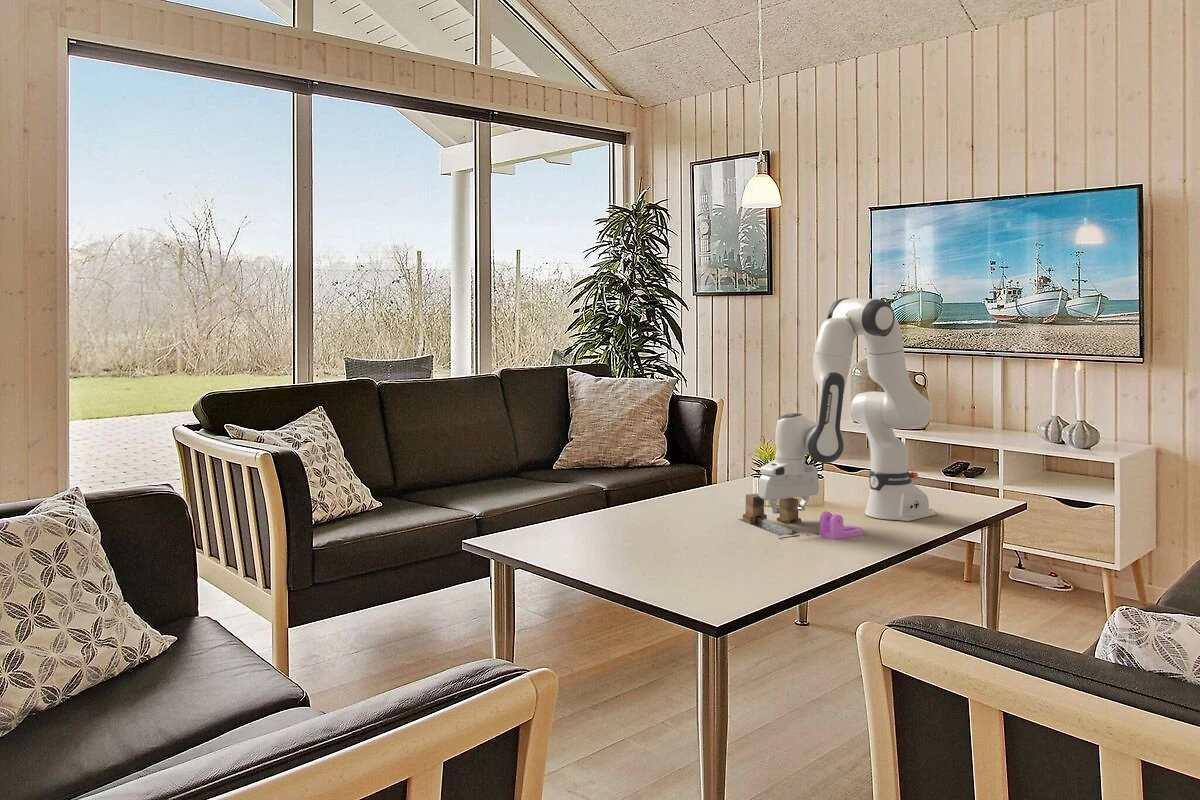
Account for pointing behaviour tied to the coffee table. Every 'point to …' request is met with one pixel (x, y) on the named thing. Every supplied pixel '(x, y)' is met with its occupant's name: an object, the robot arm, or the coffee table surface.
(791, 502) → the loose finger
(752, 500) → the fixed finger
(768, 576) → the coffee table surface
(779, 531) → the rail
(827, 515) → the bracket
